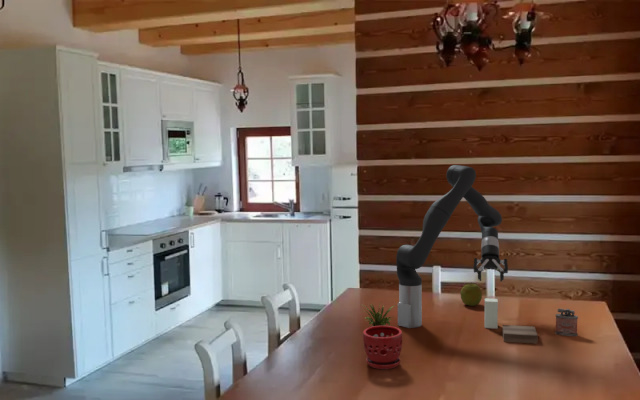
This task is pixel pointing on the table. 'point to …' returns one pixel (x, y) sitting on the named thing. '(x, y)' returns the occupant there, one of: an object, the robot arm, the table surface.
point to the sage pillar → (491, 313)
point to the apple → (471, 294)
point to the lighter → (566, 323)
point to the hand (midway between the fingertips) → (490, 280)
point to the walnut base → (519, 334)
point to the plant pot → (383, 346)
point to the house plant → (378, 317)
